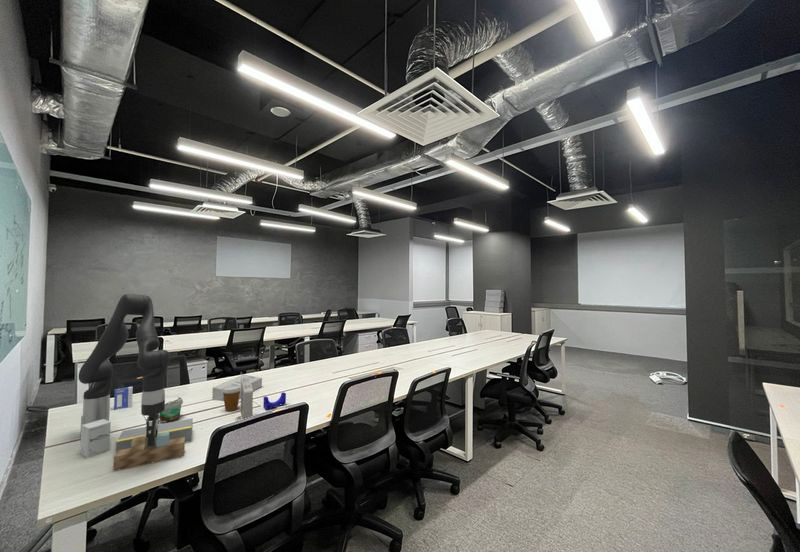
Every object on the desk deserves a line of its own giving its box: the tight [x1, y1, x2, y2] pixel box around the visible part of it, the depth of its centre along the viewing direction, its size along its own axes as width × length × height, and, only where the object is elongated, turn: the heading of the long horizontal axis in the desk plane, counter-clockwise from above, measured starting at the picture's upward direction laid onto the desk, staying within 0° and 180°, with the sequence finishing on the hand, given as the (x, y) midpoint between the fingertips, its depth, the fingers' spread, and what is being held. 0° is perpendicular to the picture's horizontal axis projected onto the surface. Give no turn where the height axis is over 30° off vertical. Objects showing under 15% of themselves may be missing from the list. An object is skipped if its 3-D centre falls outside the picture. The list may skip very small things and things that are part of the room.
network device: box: [234, 378, 254, 422], centre depth 164 cm, size 26×9×20 cm, turn 30°
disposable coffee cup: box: [222, 385, 241, 411], centre depth 183 cm, size 10×10×12 cm
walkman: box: [113, 386, 134, 411], centre depth 182 cm, size 8×3×12 cm, turn 134°
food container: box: [159, 396, 184, 424], centre depth 166 cm, size 12×6×10 cm, turn 168°
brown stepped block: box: [112, 437, 186, 471], centre depth 128 cm, size 22×6×6 cm, turn 121°
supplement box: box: [79, 419, 111, 459], centre depth 134 cm, size 7×7×13 cm
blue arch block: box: [262, 392, 287, 410], centre depth 188 cm, size 12×4×6 cm, turn 133°
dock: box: [115, 418, 194, 453], centre depth 143 cm, size 26×12×6 cm, turn 121°
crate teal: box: [156, 431, 170, 447], centre depth 130 cm, size 4×4×4 cm
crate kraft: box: [131, 436, 146, 452], centre depth 126 cm, size 4×4×4 cm
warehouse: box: [211, 374, 263, 402], centre depth 211 cm, size 30×14×8 cm, turn 172°
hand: (152, 441), depth 128 cm, fingers open, 8 cm apart
